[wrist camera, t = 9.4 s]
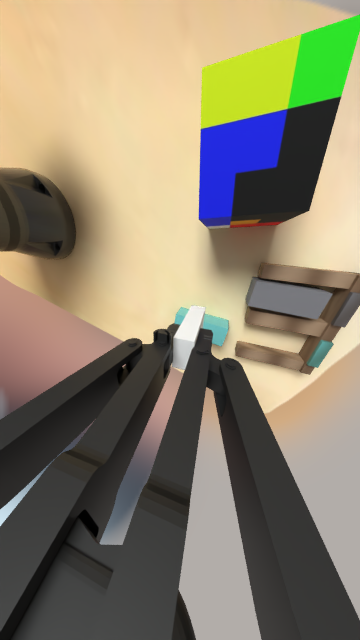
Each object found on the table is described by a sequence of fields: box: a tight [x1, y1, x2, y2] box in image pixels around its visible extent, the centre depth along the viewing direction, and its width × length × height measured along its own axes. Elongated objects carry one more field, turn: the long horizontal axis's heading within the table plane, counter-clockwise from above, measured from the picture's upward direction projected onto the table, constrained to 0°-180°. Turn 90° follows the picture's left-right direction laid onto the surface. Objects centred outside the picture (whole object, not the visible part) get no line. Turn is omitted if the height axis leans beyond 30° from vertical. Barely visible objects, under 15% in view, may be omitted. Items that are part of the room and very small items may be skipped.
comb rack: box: [235, 263, 360, 375], centre depth 26 cm, size 13×18×4 cm
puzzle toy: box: [199, 15, 360, 229], centre depth 17 cm, size 10×10×10 cm
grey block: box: [246, 277, 333, 319], centre depth 24 cm, size 10×4×4 cm, turn 83°
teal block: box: [174, 307, 228, 346], centre depth 31 cm, size 10×4×4 cm, turn 80°
